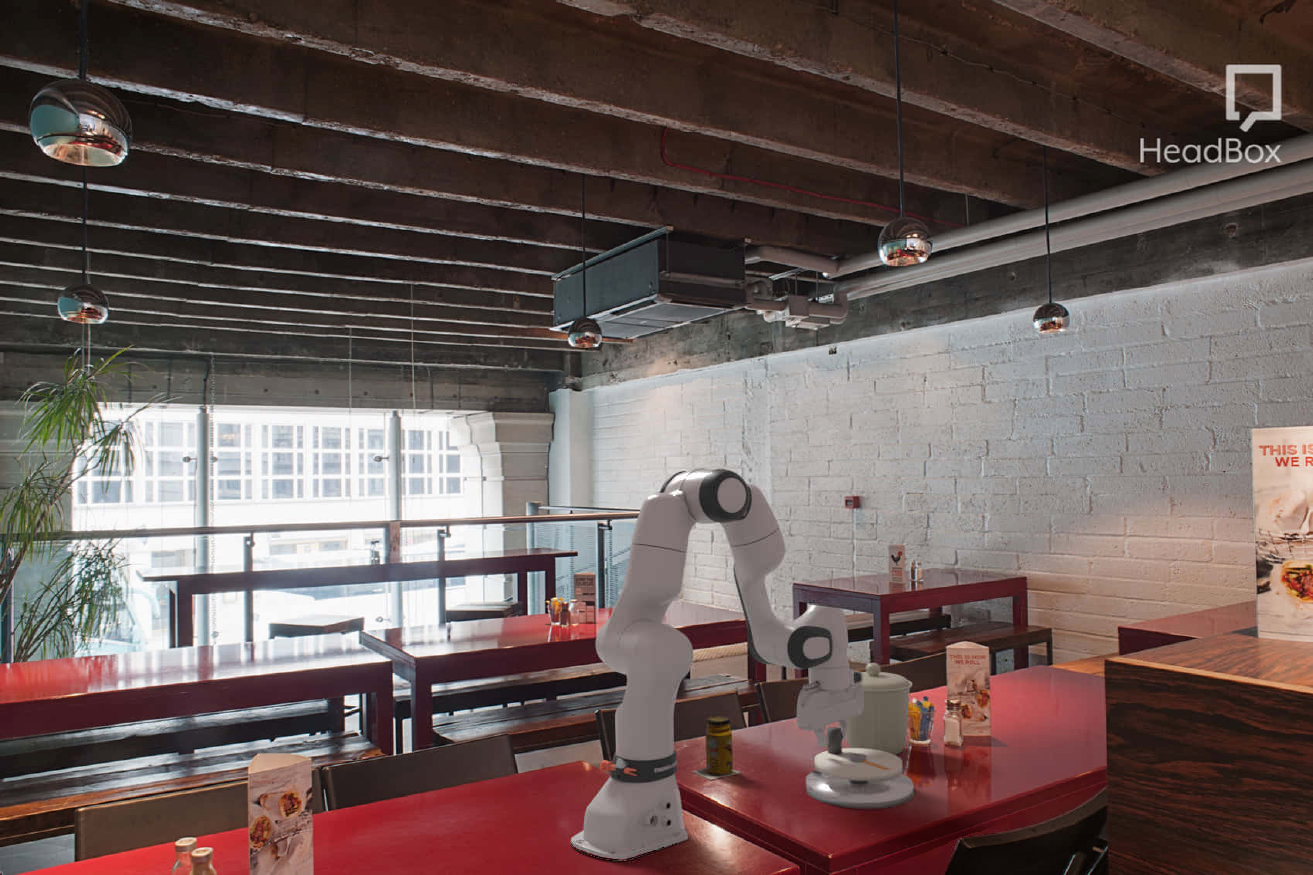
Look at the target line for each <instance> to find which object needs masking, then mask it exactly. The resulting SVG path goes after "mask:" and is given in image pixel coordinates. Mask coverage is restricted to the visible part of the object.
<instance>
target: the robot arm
mask: <svg viewBox="0 0 1313 875" xmlns="http://www.w3.org/2000/svg"><path fill="white" fill-rule="evenodd" d="M696 523H698V524H703V525H704V524H715V523H719V524H720V525H721V527H722V528H723V530H724V533H725V536H726V539H727V542H728V544H729V547H730V550H731V553H732V557H733V562H734V563H733V576H734V582H735V587H736V589H737V593H738V598H739V601H740V605H741V608H742V613H743V616H744V619H745V624H746V632H747V633H746V634H747V635H746V636H747V647H748V650H749V651H750V654H751V656H752V657H753V658H754V659H755V660H756V661H757V662H758V663H760V664H763V665H764V664H765V665H774V666H775V665H776V666H781V667H786V668H792V669H795V670H807V669H808V683H807V684H804V685H803V686H802V688H801V690H800V691H799V694H798V697H797V705H796V724H797V727H798V728H799V729H800V730H804V731H808V732H809V731H811V732H812V731H813V732H814V734H815V736H816V738H817V746H819V747H820V748H826V747H828V745H829V742H828V741H829V738H827V736H826V733H825V732H826V726H830V725H833V724H836V723H838V725H837V728H841V739H842V741H845V740H847V735H846V731H847V728H848V725H849V718H850V717H853V716H856V715H859V714H861V713H862V712H863V709H864V691H863V685H862V684H861V683H860V682H862V681H863V673H862V672H863V671H860V670H855V669H852V668H850V661H849V658H848V654H847V652H848V647H849V637H848V636H849V635H848V624H847V620H846V616H845V613H844V612H845V611H843V609H842V607H840V606H838V605H835V604H834V605H833V604H825V603H819V602H813V603H811V604H808V607H807V609H806V610H805V612H804V613H803V614H801V615H800V616H799V617H798V618H796V619H794V620H792V621H789V620H783V619H780V618H779V617H777V616H776V615H775V614H774V612H773V610H772V606H771V603H770V599H769V595H768V591H767V588H766V585H765V584H766V583H765V582H766V580H765V579H766V576H768V575H770V574H771V573H772V572H774V571H775V570H777V568H779V566H780V565H781V564H782V562H783V560H784V558H785V556H786V544H785V539H784V537H783V534H782V531H781V529H780V526H779V523H778V521H777V519H776V517H775V514H774V512H773V510H772V508H771V506H770V503H769V502H768V501H767V498H766V497H765V495H764V494H763V492H762V491H761V489H760V488H759V487H758V486H756V485H755V484H752V483H748V482H746V481H745V480H744V478H743V477H741V475H739V474H738V473H737V472H735V471H732V470H730V469H725V468H717V469H712V468H711V469H710V468H709V469H707V468H695V469H690V470H689V469H688V470H682V471H679V472H676V473H674V474H672V475H671V476H669V477H668V478H667V479H666V480H665V481H664V482H663V484H662V486H661V488H660V491H659V492H657V493H654V494H651V495H649V496H647V497H646V498H645V499H644V501H643V502H642V505H641V507H640V510H639V513H638V516H637V518H636V522H635V525H634V526H635V527H634V530H633V534H632V538H631V539H632V540H631V544H630V551H629V556H628V560H627V567H626V571H625V572H626V573H625V577H624V581H623V586H622V587H621V590H620V593H619V597H618V598H617V601H616V603H615V606H614V608H613V610H612V613H611V614H610V617H609V618H608V619H607V621H606V622H605V623H604V624H603V625H602V626H601V627H600V629H598V632H597V634H596V638H595V650H596V654H597V655H598V658H599V659H600V660H601V661H602V662H603V663H604V664H605V665H606V666H607V667H609V668H610V669H611V670H613V671H614V672H616V673H620V674H622V675H626V688H625V692H624V696H623V699H622V702H621V703H620V704H619V705H618V706H617V709H616V710H615V713H614V716H615V717H614V719H615V720H614V722H615V723H614V724H615V752H614V754H613V756H612V761H608V760H606V759H603V760H602V761H600V764H599V765H600V766H599V770H600V771H601V772H605V773H609V778H608V779H607V780H606V782H605V783H604V784H603V786H602V787H601V789H600V790H599V791H598V792H597V794H596V795H595V796H594V797H593V799H592V801H591V802H590V803H589V805H587V807H586V809H585V812H584V819H583V820H584V821H583V830H582V831H580V832H578V833H577V834H574V836H572V837H571V838H570V844H571V843H572V845H573V846H574V847H576V848H577V849H579V850H583V851H585V852H587V853H592V854H594V855H598V856H601V857H607V858H613V859H627V858H630V857H635V856H637V855H639V854H643V853H647V852H650V851H653V850H656V851H658V850H661V849H663V848H662V847H664V848H667V847H670V846H672V844H673V845H676V844H679V843H681V842H684V841H686V840H689V835H688V831H687V829H686V826H685V823H684V816H683V808H682V807H683V806H682V800H681V799H682V798H681V793H680V789H679V786H678V783H677V777H676V773H677V772H678V759H677V752H676V750H675V740H674V737H675V736H674V735H675V734H674V733H675V732H674V730H675V729H674V715H675V714H674V712H675V704H676V699H677V694H678V690H679V687H680V684H681V682H682V680H683V679H684V678H685V677H686V676H687V675H688V674H689V671H690V670H691V669H692V668H691V667H692V665H693V662H694V649H693V645H692V643H691V641H690V638H688V637H687V635H685V634H684V633H683V632H681V631H680V630H679V629H677V628H675V627H674V626H672V625H670V624H667V623H663V621H664V618H665V615H666V613H667V611H668V609H669V607H670V606H671V605H672V602H674V601H675V599H677V598H678V597H679V595H680V593H681V591H682V586H683V579H684V572H685V567H686V561H687V553H688V547H689V546H688V545H689V538H690V534H691V531H692V529H693V527H694V526H695V525H696ZM675 843H676V844H675ZM572 845H571V846H572ZM573 846H572V847H573ZM574 847H573V848H574ZM660 848H661V849H660ZM577 849H576V850H577ZM579 850H578V851H579ZM653 852H654V851H653ZM650 853H651V852H650ZM647 854H648V853H647ZM635 858H636V857H635Z"/></svg>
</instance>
